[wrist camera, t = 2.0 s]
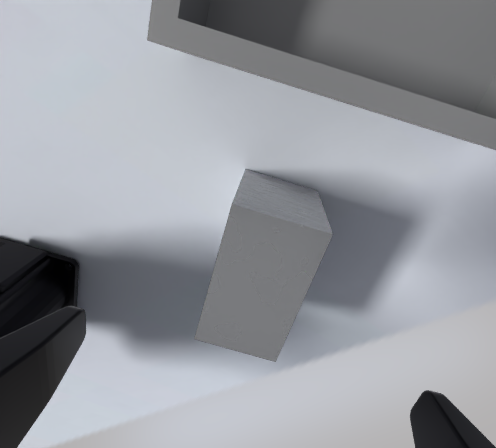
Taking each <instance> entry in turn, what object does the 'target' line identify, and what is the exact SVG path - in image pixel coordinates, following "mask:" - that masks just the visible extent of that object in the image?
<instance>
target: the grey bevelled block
mask: <svg viewBox="0 0 496 448" xmlns="http://www.w3.org/2000/svg"><path fill="white" fill-rule="evenodd" d="M332 236H333V232H332V230H331V227H330V224H329V221H328V218H327V216H326V213H325V210H324V207H323V204H322V202H321V199H320V196H319V193H318V191H317V190H314V189H310V188H307V187H304V186H301V185H297V184H294V183H291V182H287V181H284V180H281V179H277V178H274V177H271V176H267V175H264V174H261V173H257V172H254V171H251V170H247V169H245V172H244V174H243V177H242V179H241V182H240V185H239V187H238V190H237V192H236V195H235V197H234V200H233V203H232V206H231V209H230V213H229V216H228V220H227V224H226V227H225V231H224V234H223V238H222V242H221V245H220V249H219V252H218V256H217V259H216V263H215V267H214V270H213V274H212V277H211V281H210V284H209V288H208V292H207V295H206V299H205V302H204V306H203V309H202V313H201V317H200V320H199V324H198V327H197V331H196V335H195V338H194V339H196V340H199V341H203V342H206V343H210V344H213V345H217V346H221V347H224V348H228V349H231V350H235V351H238V352H242V353H245V354H249V355H253V356H256V357H260V358H263V359H267V360H270V361H274V362H276V360H277V357H278V355H279V353H280V351H281V349H282V346H283V344H284V342H285V340H286V338H287V335H288V333H289V331H290V329H291V326H292V324H293V322H294V320H295V318H296V315H297V313H298V311H299V309H300V307H301V304H302V302H303V300H304V298H305V295H306V293H307V291H308V289H309V287H310V284H311V282H312V280H313V278H314V276H315V273H316V271H317V269H318V267H319V264H320V262H321V260H322V258H323V256H324V253H325V251H326V249H327V247H328V245H329V242H330V240H331V238H332Z"/></svg>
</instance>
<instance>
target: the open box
mask: <svg viewBox="0 0 496 448" xmlns="http://www.w3.org/2000/svg"><path fill="white" fill-rule="evenodd" d="M147 40H148V41H151V42H154V43H157V44H160V45H163V46H166V47H169V48H172V49H175V50H179V51H182V52H185V53H188V54H191V55H194V56H197V57H201V58H204V59H207V60H210V61H213V62H217V63H220V64H223V65H226V66H229V67H232V68H236V69H239V70H242V71H245V72H248V73H252V74H255V75H258V76H261V77H264V78H267V79H271V80H274V81H277V82H280V83H283V84H287V85H290V86H293V87H296V88H299V89H303V90H306V91H309V92H312V93H315V94H318V95H322V96H325V97H328V98H331V99H334V100H338V101H341V102H344V103H347V104H350V105H353V106H357V107H360V108H363V109H366V110H369V111H373V112H376V113H379V114H382V115H385V116H389V117H392V118H395V119H398V120H401V121H404V122H408V123H411V124H414V125H417V126H420V127H424V128H427V129H430V130H433V131H436V132H439V133H443V134H446V135H449V136H452V137H455V138H459V139H462V140H465V141H468V142H471V143H475V144H478V145H481V146H484V147H488V148H491V149H494V150H496V0H152V5H151V13H150V22H149V30H148V38H147Z"/></svg>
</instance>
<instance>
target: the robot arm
mask: <svg viewBox="0 0 496 448" xmlns="http://www.w3.org/2000/svg"><path fill="white" fill-rule="evenodd" d="M69 265H71V267H70V266H69ZM78 271H79V265H78V263H77V261H76V260H74V259H72V258H68V257H65V256H61V255H58V254H54V253H51V252H47V251H44V250H40V249H37V248H33V247H30V246H26V245H23V244H19V243H16V242H12V241H9V240H5V239H2V238H0V448H17V447H18V445H19V444H20V442H21V441H22V440H23V438H24V437H25V435H26V434H27V432H28V431H29V430H30V428H31V427H32V425H33V424H34V422H35V421H36V419H37V418H38V417H39V415H40V414H41V412H42V411H43V409H44V408H45V406H46V405H47V403H48V402H49V400H50V399H51V397H52V396H53V394H54V392H55V390H56V389H57V387H58V385H59V383H60V382H61V380H62V378H63V376H64V375H65V373H66V371H67V369H68V367H69V366H70V364H71V362H72V360H73V359H74V357H75V355H76V353H77V351H78V350H79V348H80V346H81V344H82V342H83V340H84V338H85V335H86V313H85V310H84V309H82V308H78V307H76V306H77V289H78ZM410 420H411V426H412V432H413V437H414V443H415V448H496V447H495V446H494V445H493V444H492V443H491V442H490V441H489V440H488V439H487V438H486V437H485V436H484V435H483V434H482V433H481V432H480V431H479V430H478V429H477V428H476V427H475V426H474V425H473V424H472V423H471V422H470V421H469V420H468V419H467V418H466V417H465V416H464V415H463V414H462V413H461V412H460V411H459V410H458V409H457V408H456V407H455V406H454V405H453V404H452V403H451V402H450V401H449V400H448V399H447V398H446V397H445V396H444V395H443V394H441V393H437V392H433V391H429V390H427V391H424V392H423V393H422V394H421V396H420V397H419V399H418V400H417V402H416V403H415V404H414V406H413V408H412V409H411V413H410Z"/></svg>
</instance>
